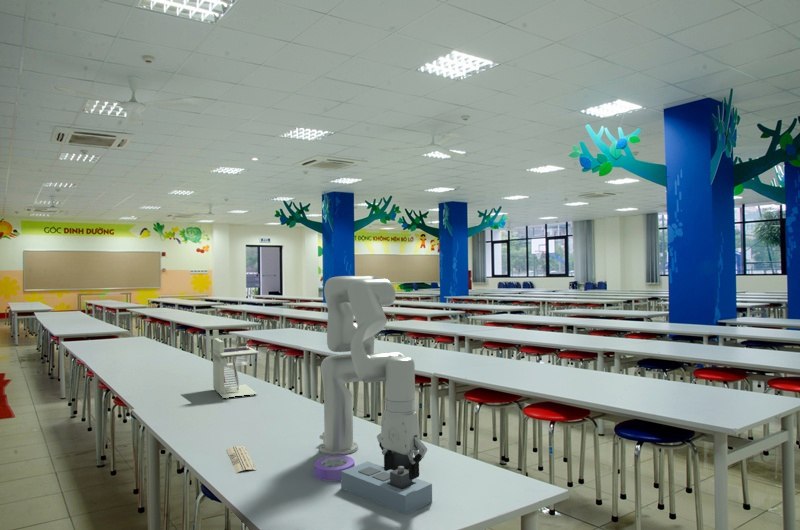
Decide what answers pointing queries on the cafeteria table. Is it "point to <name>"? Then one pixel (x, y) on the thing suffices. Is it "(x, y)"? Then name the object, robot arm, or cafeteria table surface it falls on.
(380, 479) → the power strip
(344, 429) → the robot arm
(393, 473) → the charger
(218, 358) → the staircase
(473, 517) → the cafeteria table surface
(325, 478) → the masking tape
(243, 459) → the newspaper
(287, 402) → the cafeteria table surface
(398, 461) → the phone
